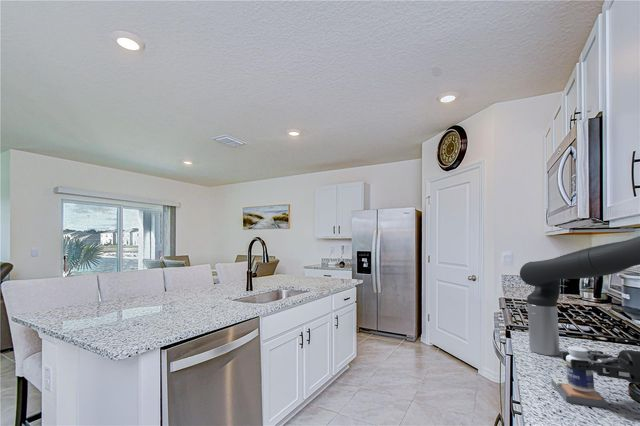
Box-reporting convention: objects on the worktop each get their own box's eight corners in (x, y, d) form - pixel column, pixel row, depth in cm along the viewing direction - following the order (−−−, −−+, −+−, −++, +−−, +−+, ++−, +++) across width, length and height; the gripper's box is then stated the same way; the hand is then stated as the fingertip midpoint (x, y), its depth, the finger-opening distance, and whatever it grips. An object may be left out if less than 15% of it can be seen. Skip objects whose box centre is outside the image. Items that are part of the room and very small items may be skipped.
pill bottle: (562, 384, 85) (560, 346, 86) (576, 381, 86) (573, 344, 87) (585, 393, 80) (582, 353, 80) (599, 390, 81) (596, 350, 82)
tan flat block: (551, 384, 91) (551, 376, 92) (587, 389, 88) (587, 380, 89) (566, 402, 81) (565, 393, 81) (608, 408, 78) (607, 398, 78)
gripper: (630, 343, 86) (555, 337, 92) (667, 362, 72) (576, 354, 78) (633, 373, 85) (557, 364, 91) (670, 397, 72) (579, 386, 77)
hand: (567, 359), depth 84 cm, fingers closed on pill bottle, 5 cm apart
